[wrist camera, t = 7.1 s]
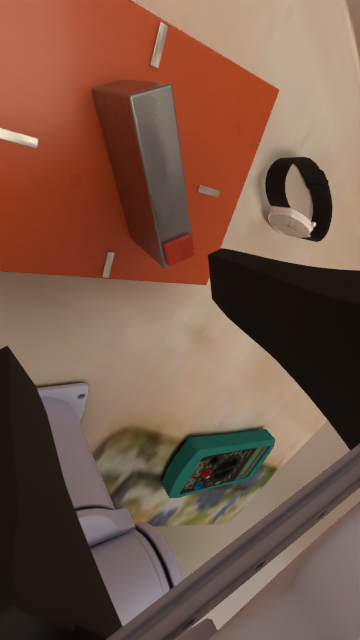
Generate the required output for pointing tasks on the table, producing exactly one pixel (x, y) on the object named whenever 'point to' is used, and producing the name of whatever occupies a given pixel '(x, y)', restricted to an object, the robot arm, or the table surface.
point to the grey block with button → (147, 165)
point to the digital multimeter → (216, 461)
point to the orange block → (89, 143)
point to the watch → (291, 219)
